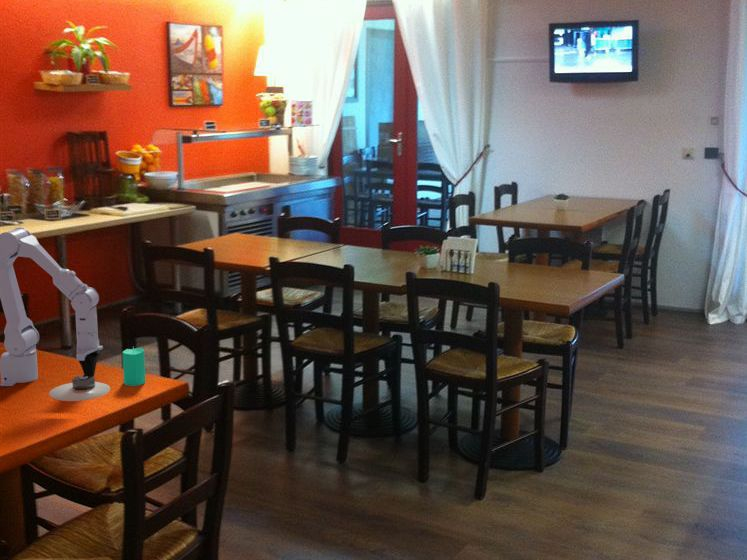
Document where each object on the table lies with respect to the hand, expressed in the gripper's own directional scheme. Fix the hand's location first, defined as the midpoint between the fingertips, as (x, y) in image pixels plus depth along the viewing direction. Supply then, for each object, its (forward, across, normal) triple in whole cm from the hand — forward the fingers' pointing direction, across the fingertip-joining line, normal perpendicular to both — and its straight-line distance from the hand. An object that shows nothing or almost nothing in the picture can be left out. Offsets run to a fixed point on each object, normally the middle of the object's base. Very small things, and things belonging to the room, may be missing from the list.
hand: (89, 377), depth 255 cm
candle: (+2, -1, -13) cm, 13 cm away
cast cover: (+1, -5, 0) cm, 5 cm away
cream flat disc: (+2, -9, 0) cm, 9 cm away
